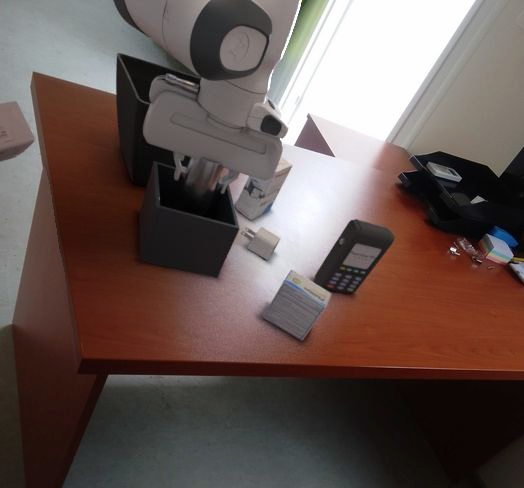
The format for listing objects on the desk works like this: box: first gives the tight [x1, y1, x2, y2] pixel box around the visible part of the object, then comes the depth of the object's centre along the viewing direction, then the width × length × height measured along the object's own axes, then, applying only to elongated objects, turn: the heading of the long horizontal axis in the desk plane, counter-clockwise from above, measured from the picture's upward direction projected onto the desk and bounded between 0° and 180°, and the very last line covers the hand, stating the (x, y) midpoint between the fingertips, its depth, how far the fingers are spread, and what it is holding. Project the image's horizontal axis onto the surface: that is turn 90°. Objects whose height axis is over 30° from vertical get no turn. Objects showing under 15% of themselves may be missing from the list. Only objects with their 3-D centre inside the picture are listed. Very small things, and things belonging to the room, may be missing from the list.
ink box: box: [234, 155, 293, 221], centre depth 95 cm, size 9×5×12 cm, turn 150°
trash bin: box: [139, 161, 241, 278], centre depth 77 cm, size 13×13×10 cm
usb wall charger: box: [240, 226, 281, 261], centre depth 89 cm, size 4×7×4 cm, turn 71°
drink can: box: [177, 156, 224, 214], centre depth 71 cm, size 5×5×9 cm
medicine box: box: [262, 269, 332, 342], centre depth 75 cm, size 8×4×9 cm, turn 71°
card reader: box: [314, 218, 395, 295], centre depth 87 cm, size 9×4×15 cm, turn 106°
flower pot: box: [115, 52, 202, 187], centre depth 87 cm, size 19×19×17 cm
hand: (199, 185), depth 72 cm, fingers closed on drink can, 5 cm apart
